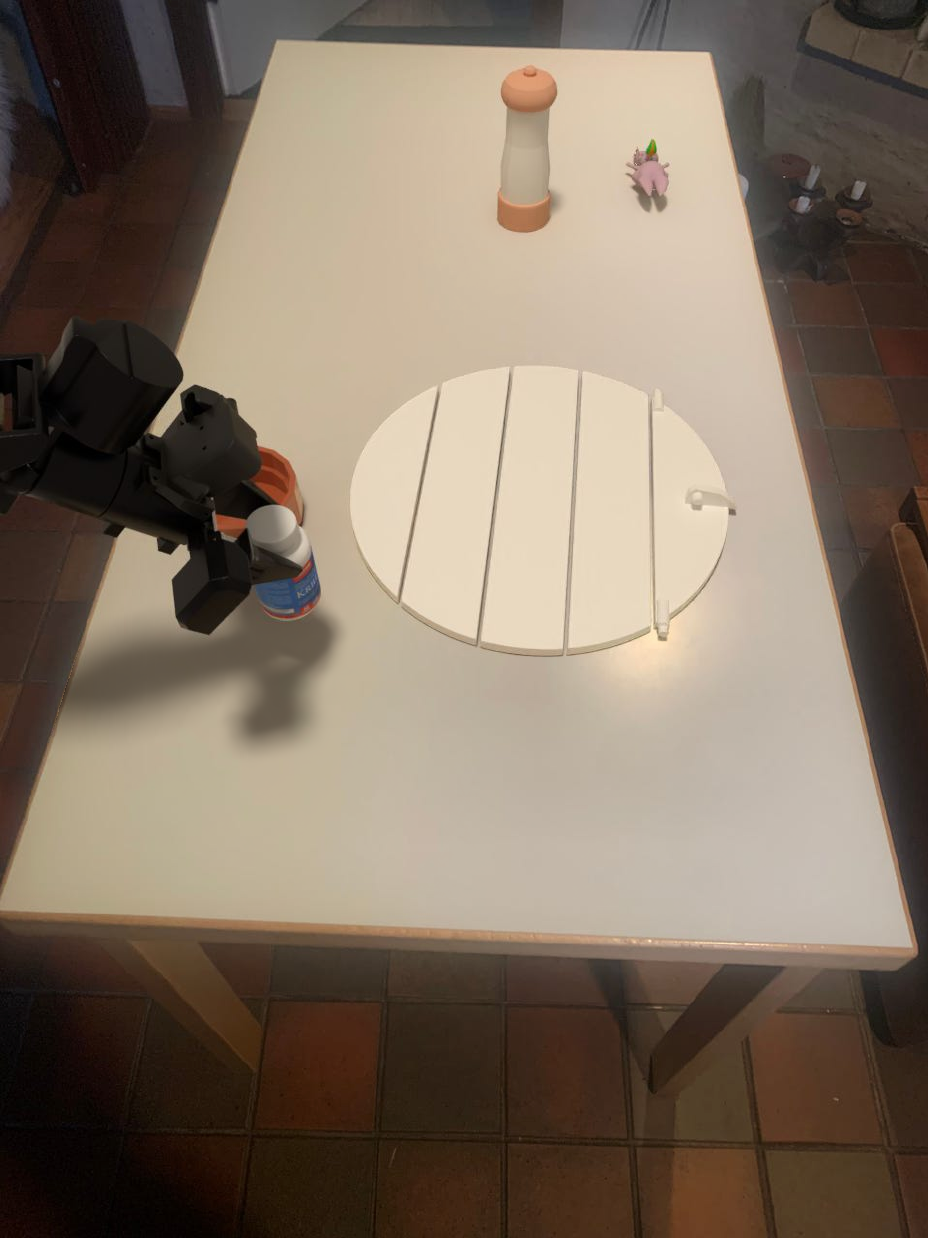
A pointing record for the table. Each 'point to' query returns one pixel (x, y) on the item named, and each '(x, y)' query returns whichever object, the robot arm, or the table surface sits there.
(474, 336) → the table surface
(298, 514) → the bowl
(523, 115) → the salt shaker
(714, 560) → the round slatted board
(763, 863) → the table surface
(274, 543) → the pill bottle
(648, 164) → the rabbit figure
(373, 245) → the table surface
